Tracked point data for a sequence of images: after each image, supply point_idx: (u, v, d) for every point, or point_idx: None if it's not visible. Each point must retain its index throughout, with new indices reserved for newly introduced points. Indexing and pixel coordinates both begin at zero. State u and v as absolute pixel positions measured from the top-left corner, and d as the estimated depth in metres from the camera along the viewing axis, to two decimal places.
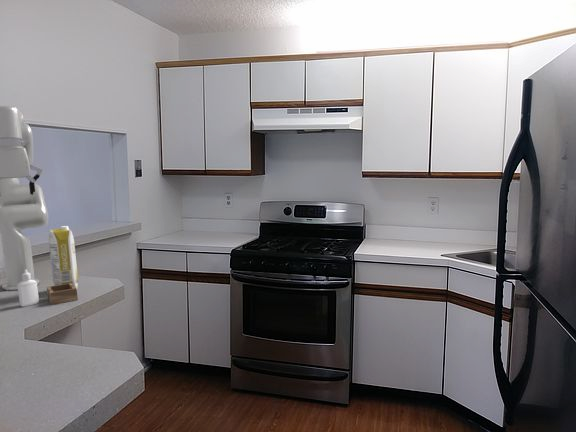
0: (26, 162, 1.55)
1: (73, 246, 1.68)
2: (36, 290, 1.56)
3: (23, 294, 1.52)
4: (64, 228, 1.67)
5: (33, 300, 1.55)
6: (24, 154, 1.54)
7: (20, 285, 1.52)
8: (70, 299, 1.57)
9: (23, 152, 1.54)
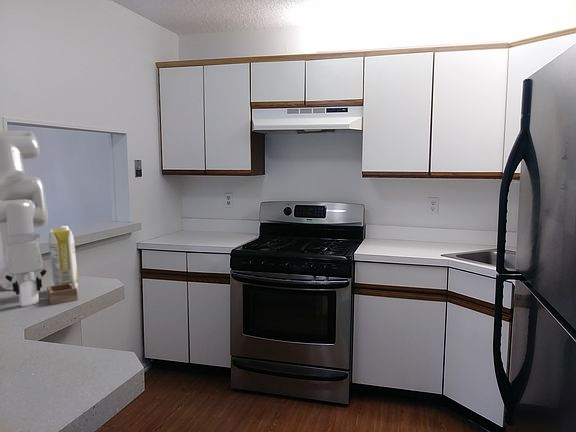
0: (38, 256, 1.54)
1: (73, 246, 1.68)
2: (36, 290, 1.56)
3: (23, 294, 1.52)
4: (64, 228, 1.67)
5: (33, 300, 1.55)
6: (36, 248, 1.53)
7: (20, 285, 1.52)
8: (70, 299, 1.57)
9: (35, 246, 1.53)
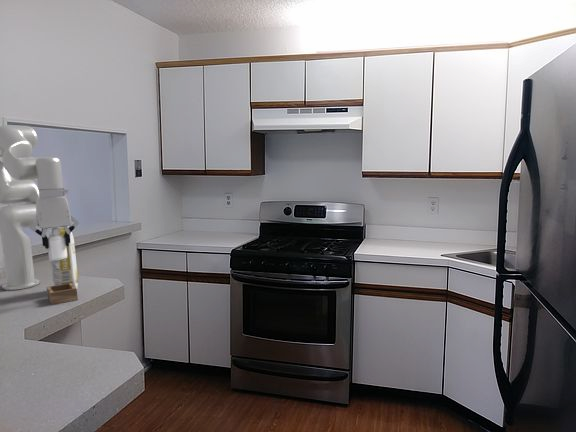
0: (67, 211, 1.57)
1: (73, 246, 1.68)
2: (65, 245, 1.59)
3: (53, 248, 1.55)
4: None
5: (62, 255, 1.57)
6: (65, 204, 1.56)
7: (50, 239, 1.55)
8: (70, 299, 1.57)
9: (64, 202, 1.56)
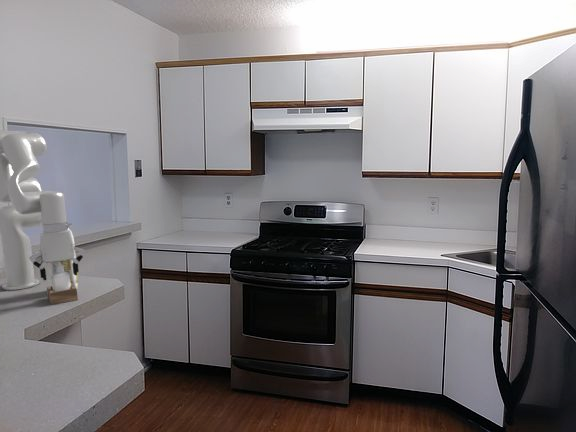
0: (71, 245, 1.58)
1: None
2: (69, 282, 1.60)
3: (57, 286, 1.57)
4: None
5: None
6: (69, 237, 1.58)
7: (54, 277, 1.57)
8: (70, 299, 1.57)
9: (68, 235, 1.57)
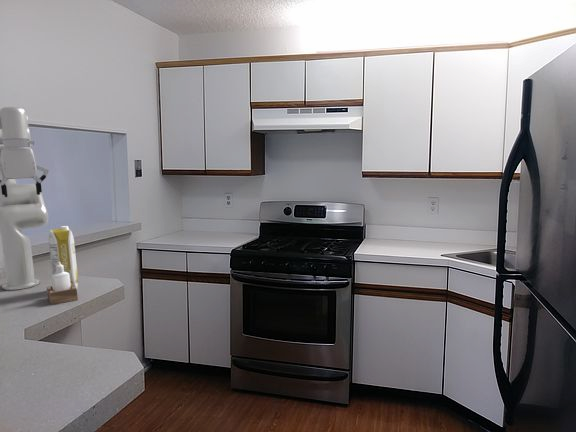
0: (33, 163, 1.56)
1: (73, 246, 1.68)
2: (69, 282, 1.60)
3: (57, 286, 1.57)
4: (64, 228, 1.67)
5: None
6: (31, 155, 1.55)
7: (54, 277, 1.57)
8: (70, 299, 1.57)
9: (30, 153, 1.55)
